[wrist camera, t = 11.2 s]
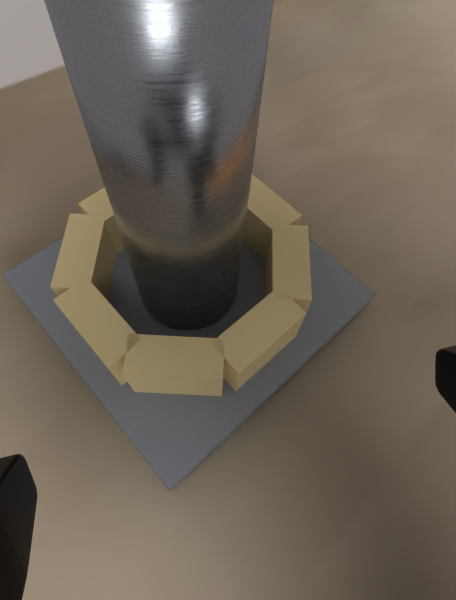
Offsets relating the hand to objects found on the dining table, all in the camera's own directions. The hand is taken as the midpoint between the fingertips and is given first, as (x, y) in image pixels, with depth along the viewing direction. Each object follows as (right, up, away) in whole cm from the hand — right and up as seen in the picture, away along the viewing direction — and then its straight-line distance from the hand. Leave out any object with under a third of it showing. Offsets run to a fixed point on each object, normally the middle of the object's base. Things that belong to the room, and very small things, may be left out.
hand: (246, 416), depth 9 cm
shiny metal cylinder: (-2, +3, +10) cm, 11 cm away
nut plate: (-2, +3, +11) cm, 12 cm away
